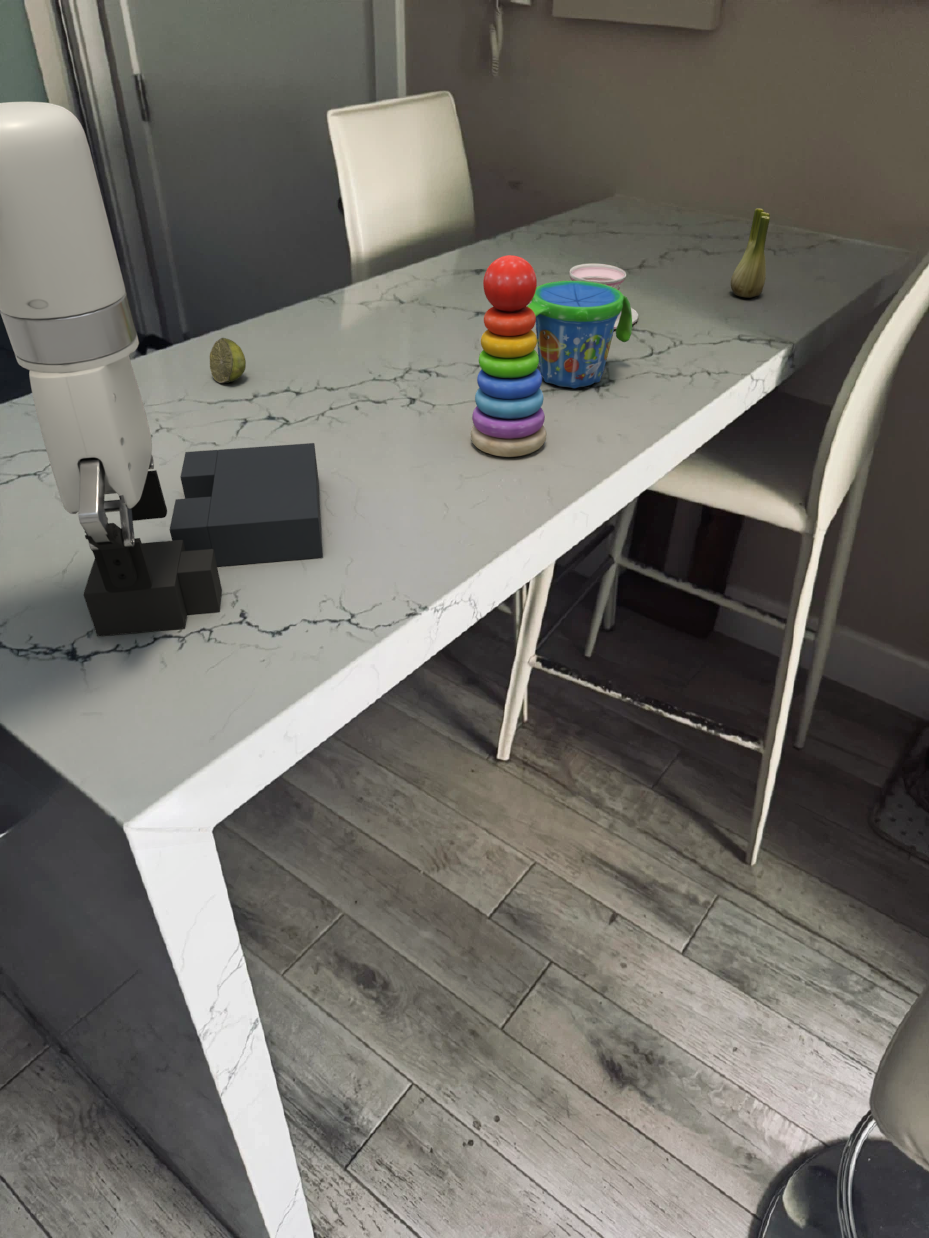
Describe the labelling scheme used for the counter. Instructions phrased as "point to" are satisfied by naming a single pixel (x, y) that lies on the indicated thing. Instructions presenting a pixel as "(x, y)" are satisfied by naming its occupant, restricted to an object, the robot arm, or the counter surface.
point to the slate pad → (250, 504)
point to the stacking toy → (509, 365)
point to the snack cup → (577, 329)
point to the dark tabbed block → (157, 592)
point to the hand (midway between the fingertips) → (139, 551)
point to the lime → (226, 361)
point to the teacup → (601, 279)
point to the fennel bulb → (752, 260)
